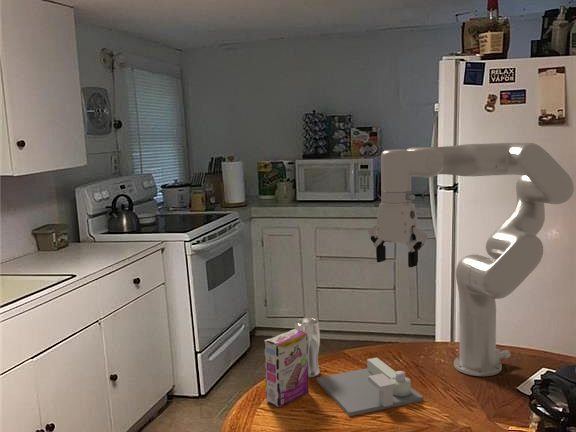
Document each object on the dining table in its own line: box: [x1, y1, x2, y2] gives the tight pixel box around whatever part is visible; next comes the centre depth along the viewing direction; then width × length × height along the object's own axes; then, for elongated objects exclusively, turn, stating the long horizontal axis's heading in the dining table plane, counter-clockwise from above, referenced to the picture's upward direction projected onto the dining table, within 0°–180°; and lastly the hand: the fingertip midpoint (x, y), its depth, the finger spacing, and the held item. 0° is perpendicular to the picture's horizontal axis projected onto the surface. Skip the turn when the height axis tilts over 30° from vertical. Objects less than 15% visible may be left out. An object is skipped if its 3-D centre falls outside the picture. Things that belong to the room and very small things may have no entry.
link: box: [366, 357, 412, 396], centre depth 146 cm, size 18×5×5 cm, turn 18°
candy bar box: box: [264, 328, 310, 408], centre depth 142 cm, size 11×5×16 cm, turn 136°
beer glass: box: [294, 317, 321, 378], centre depth 156 cm, size 7×7×15 cm
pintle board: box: [316, 368, 424, 417], centre depth 144 cm, size 20×22×6 cm
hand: (396, 263), depth 146 cm, fingers open, 9 cm apart
